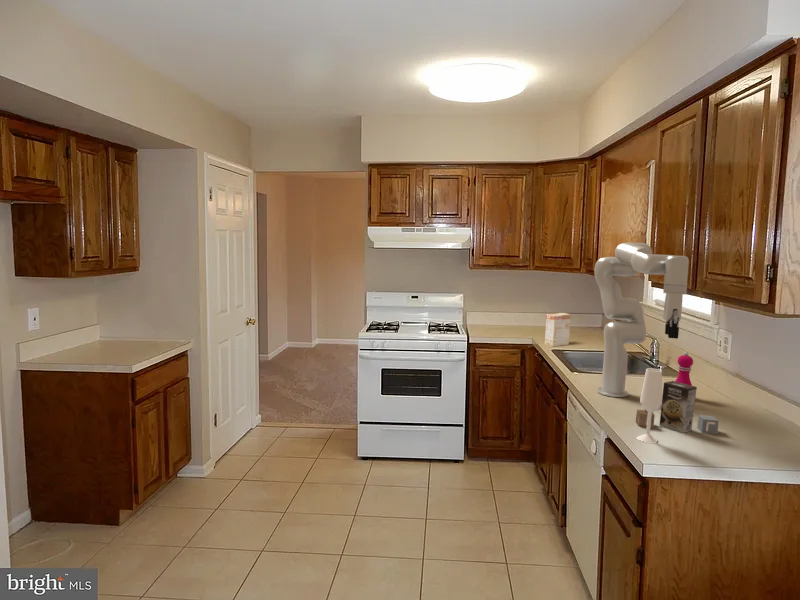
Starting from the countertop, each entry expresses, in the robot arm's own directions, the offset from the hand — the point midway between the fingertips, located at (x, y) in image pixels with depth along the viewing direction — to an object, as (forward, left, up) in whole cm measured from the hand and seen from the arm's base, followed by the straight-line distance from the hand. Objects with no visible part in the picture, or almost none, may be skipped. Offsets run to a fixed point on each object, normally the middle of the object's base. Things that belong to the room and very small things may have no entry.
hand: (671, 336), depth 204 cm
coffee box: (+7, +2, -32) cm, 33 cm away
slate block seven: (+7, +13, -32) cm, 35 cm away
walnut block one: (+7, -8, -32) cm, 34 cm away
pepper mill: (-37, +16, -32) cm, 52 cm away
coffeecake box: (-138, -29, -32) cm, 145 cm away
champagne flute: (+23, -11, -32) cm, 41 cm away
